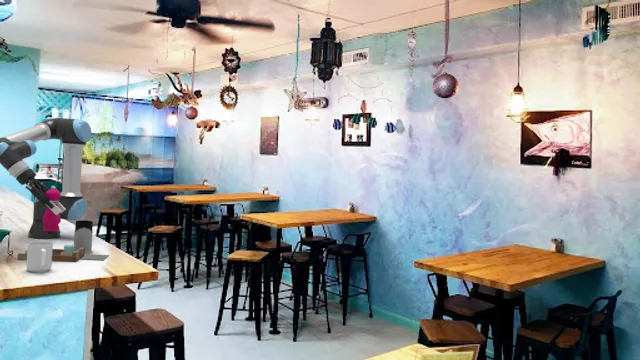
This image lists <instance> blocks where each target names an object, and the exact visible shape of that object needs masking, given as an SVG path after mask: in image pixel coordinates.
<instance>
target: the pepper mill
mask: <svg viewBox="0 0 640 360" xmlns="http://www.w3.org/2000/svg"><path fill="white" fill-rule="evenodd" d="M60 193H61V192H60V191H59V190H58V189H57V188H56V186H55V185H51V187H50V189H49V190H48V191H47V192H46V194H45V195H46V196H47V197H48V199H49V200H51V201H52V202H53V203H54V204H55V205H56V206H57V207H58V203H59V200H58V199H59V198H60V197H61V194H60ZM61 222H62V219H61V217H60V215H59V214H58V215H56V214H55V213H54V212H53V211H52V210H51V209H50V208H49V207H48V206H47V210H46V213H45V214H44V216H43V223H44V224H45V226H43V230H44V231H58V230H59V229H60V223H61Z"/></svg>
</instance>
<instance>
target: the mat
mask: <svg viewBox="0 0 640 360" xmlns="http://www.w3.org/2000/svg"><path fill="white" fill-rule="evenodd" d="M109 256H110V255H109V254H94V253H93V254H92V253H90V254H85V255H84V256H83V257H82V258H80V259H79V260H81V261H105V260H106V259H107V258H108V257H109Z"/></svg>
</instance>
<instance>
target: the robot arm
mask: <svg viewBox="0 0 640 360" xmlns="http://www.w3.org/2000/svg"><path fill="white" fill-rule="evenodd" d="M91 138H92V128H91V125H90V124H89V123H88V121H86V120H84V119H79V118H67V117H66V118H63V117H53V118H49V119H47V120H42V121H40V122H37V123H35V124H34V126H31V127H29V128H26V129H23V130H20V131H17V132H14V133H12V134H8V135H6V136H2V137H0V165H1V166H2V167H3V168H4V169H5V170H6V171H7V172H8V173H9V176H12V177H13V178H14V179H15V180H16V182H18V183H19V184H20V185H21V186H24V185H25V189H26V190H28V191H29V192H30V193H31V194H32V195H33V196H34V199H33V213H32V214H33V215H32V224H31V226H30V228H29V230H28V235H27V236H28V238H31V239H38V240H39V239H42V240H44V239H45V240H46V239H48V240H49V239H58V238H60V237H61V229H60V228H59V230H58V231H44V230H43V226H45V224H44V223H43V216H44V214H45V213H46V210H47V206H48V207H49V208H50V209H51V210H52V211H53V212H54V213H55V214H56V215H58V214H59V215H60V217H61V220H68V221H80V220H81V219H82V218H83V217H84V216H85V214H86V213H87V209H88V203H87V200H86V199H84V195H83V194H82V192H81V184H82V183H81V182H82V181H81V180H82V164H83V148H85V147H86V146H87V142H90V140H91ZM48 140H61V144H62V145H63V147H64V150H63V151H64V152H63V153H64V154H63V171H62V190H61V192H60V194H61V197H60V198H59V199H58V200H59V203H58V207H57V206H56V205H55V204H54V203H53V202H52V201H51V200H49V199H48V197H47V196H46V195H45V194H46V192H47V191H48V190H50V189H49V187H47V186H46V185H45V184H44V182H43V181H42V180H40V181H39V180H38V179H36V176H37V173H36V172H35V171H34V170H33V169H32V168H30V167H31V166H30V165H28V163H26V162H25V159H27V158H30V157H32V156H34V155H35V154H36V153H37V151H38V150H37V145H36V143H37V142H40V141H48Z"/></svg>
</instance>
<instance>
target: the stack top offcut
mask: <svg viewBox="0 0 640 360" xmlns="http://www.w3.org/2000/svg"><path fill="white" fill-rule="evenodd" d="M63 249H64V253H73V252H74V244H64V245H63Z"/></svg>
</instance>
